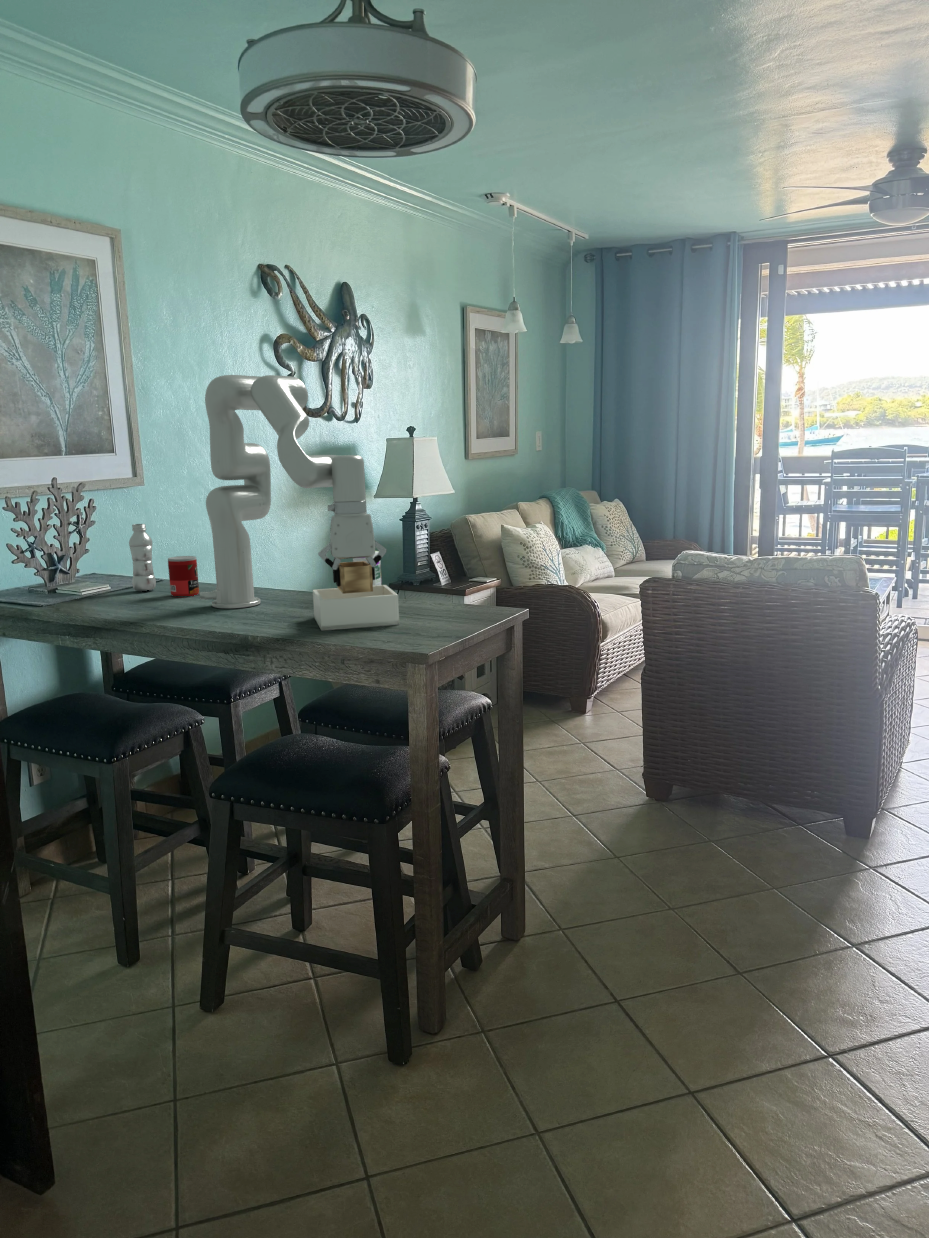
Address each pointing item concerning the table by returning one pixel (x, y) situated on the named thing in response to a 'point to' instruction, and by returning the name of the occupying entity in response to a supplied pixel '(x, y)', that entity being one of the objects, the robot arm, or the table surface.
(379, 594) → the plastic crate
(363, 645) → the table surface
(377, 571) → the syrup box
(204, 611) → the table surface
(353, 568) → the wooden crate
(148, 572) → the plastic bottle
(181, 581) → the canned food
